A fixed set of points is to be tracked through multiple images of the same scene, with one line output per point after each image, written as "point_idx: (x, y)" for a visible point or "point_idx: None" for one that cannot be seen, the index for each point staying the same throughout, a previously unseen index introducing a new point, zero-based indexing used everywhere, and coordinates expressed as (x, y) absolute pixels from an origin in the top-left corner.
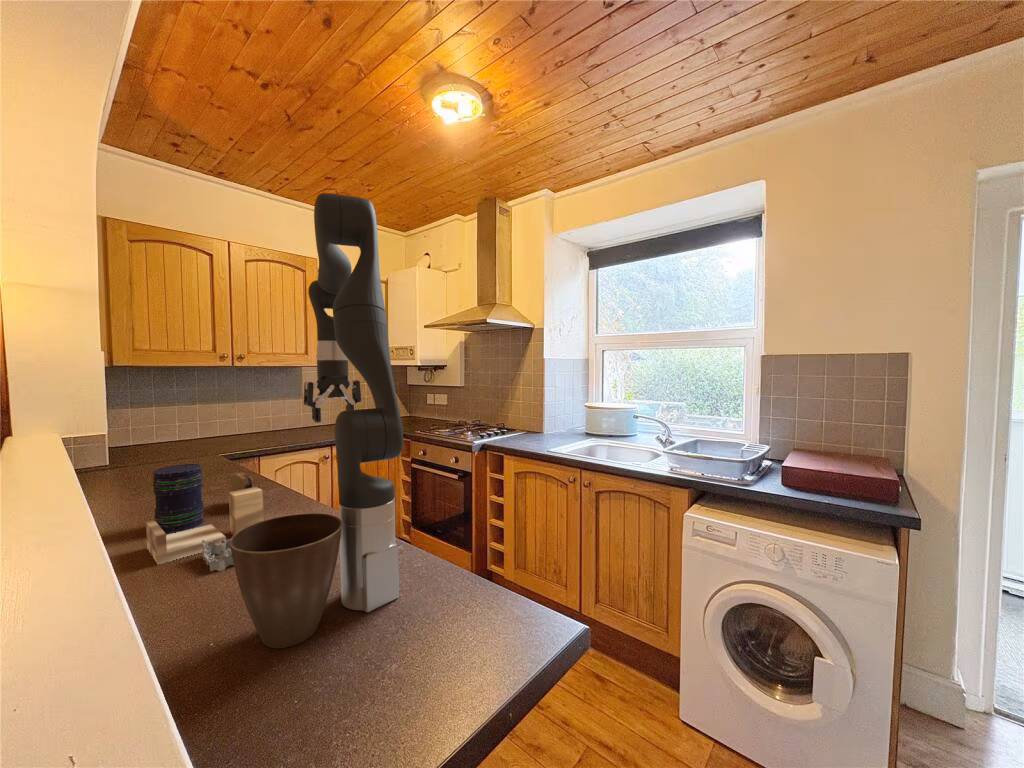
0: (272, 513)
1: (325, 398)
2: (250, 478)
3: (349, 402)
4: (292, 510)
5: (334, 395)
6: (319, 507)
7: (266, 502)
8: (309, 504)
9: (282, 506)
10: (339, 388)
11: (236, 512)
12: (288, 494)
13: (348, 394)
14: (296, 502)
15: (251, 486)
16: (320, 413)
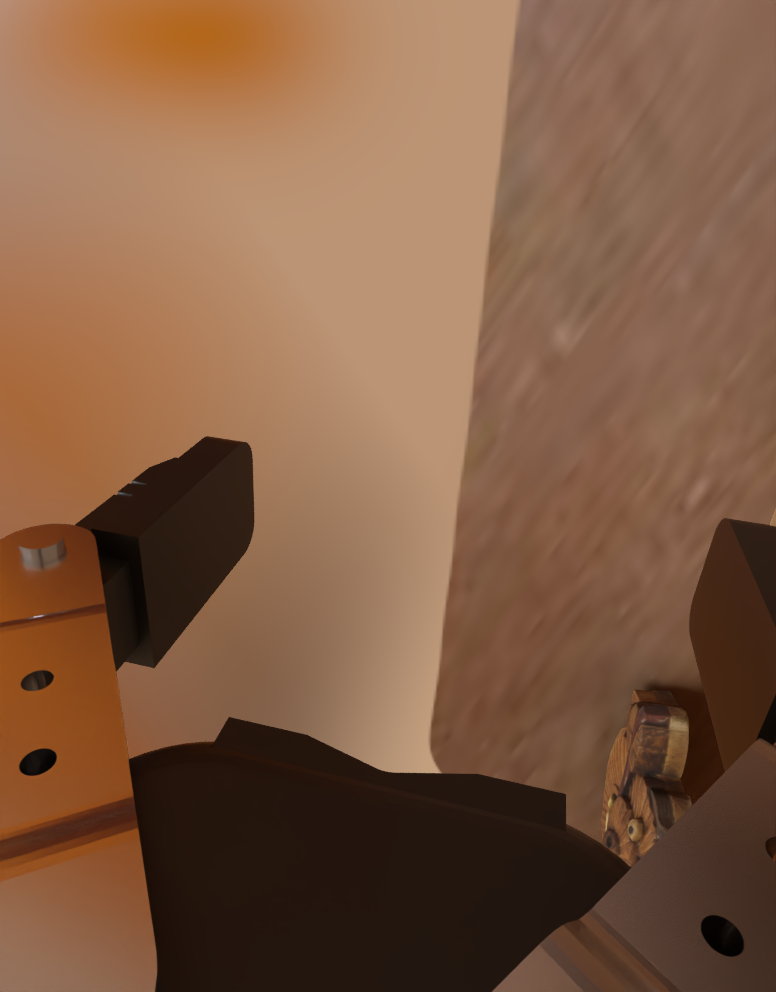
0: (634, 599)
1: (758, 778)
2: (660, 825)
3: (102, 585)
4: (563, 562)
5: (410, 806)
6: (471, 496)
7: (559, 727)
8: (472, 566)
9: (554, 638)
10: (161, 963)
11: None
12: (449, 736)
13: (6, 670)
14: (489, 632)
15: (652, 790)
16: (766, 590)
